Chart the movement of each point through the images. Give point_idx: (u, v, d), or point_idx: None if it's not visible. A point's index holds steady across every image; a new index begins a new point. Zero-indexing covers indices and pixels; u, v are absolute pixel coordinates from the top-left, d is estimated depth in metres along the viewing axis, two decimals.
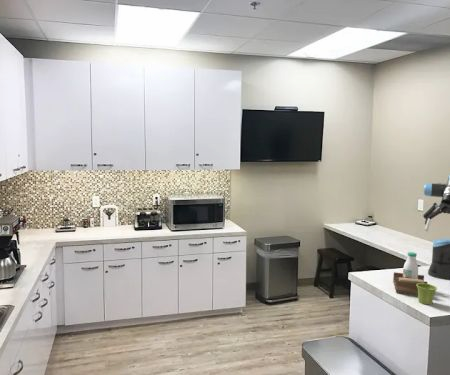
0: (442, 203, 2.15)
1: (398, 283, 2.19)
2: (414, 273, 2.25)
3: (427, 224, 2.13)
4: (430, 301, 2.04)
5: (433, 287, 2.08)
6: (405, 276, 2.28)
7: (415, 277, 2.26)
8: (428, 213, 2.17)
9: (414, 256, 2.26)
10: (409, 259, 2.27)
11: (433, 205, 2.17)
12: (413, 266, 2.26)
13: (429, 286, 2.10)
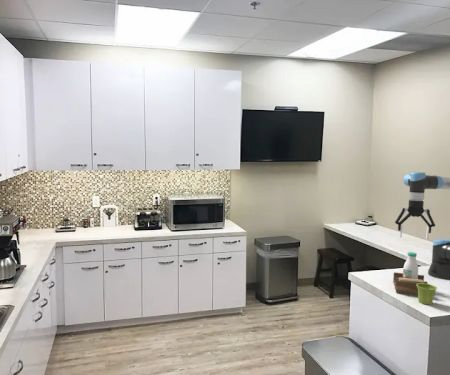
0: (410, 208, 2.25)
1: (398, 283, 2.19)
2: (414, 273, 2.25)
3: (401, 232, 2.27)
4: (430, 301, 2.04)
5: (433, 287, 2.08)
6: (405, 276, 2.28)
7: (415, 277, 2.26)
8: (399, 219, 2.27)
9: (414, 256, 2.26)
10: (409, 259, 2.27)
11: (402, 211, 2.26)
12: (413, 266, 2.26)
13: (429, 286, 2.10)
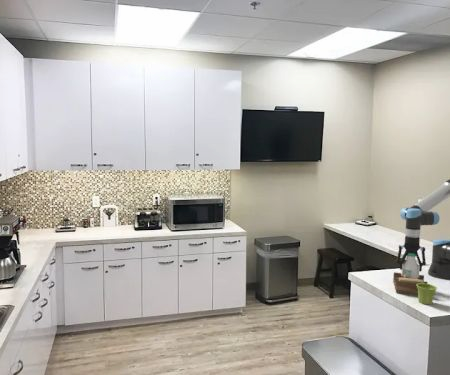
0: (406, 244, 2.28)
1: (398, 283, 2.19)
2: (414, 273, 2.25)
3: None
4: (430, 301, 2.04)
5: (433, 287, 2.08)
6: (405, 276, 2.28)
7: (414, 277, 2.26)
8: (399, 258, 2.29)
9: (413, 256, 2.26)
10: (409, 259, 2.27)
11: (399, 249, 2.29)
12: (413, 266, 2.26)
13: (429, 286, 2.10)
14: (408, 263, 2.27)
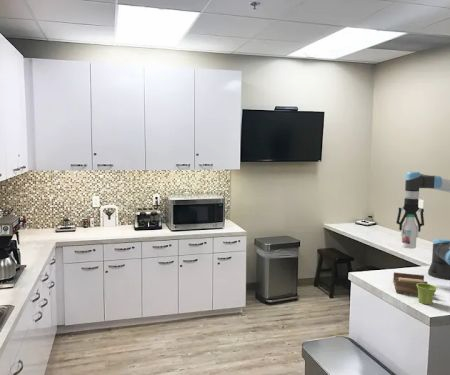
0: (405, 206, 2.39)
1: (398, 283, 2.19)
2: (413, 233, 2.36)
3: (402, 231, 2.40)
4: (430, 301, 2.04)
5: (433, 287, 2.08)
6: (404, 236, 2.39)
7: (413, 236, 2.37)
8: (399, 219, 2.40)
9: (412, 217, 2.37)
10: (408, 220, 2.38)
11: (399, 210, 2.40)
12: (412, 226, 2.36)
13: (429, 286, 2.10)
14: (407, 224, 2.38)
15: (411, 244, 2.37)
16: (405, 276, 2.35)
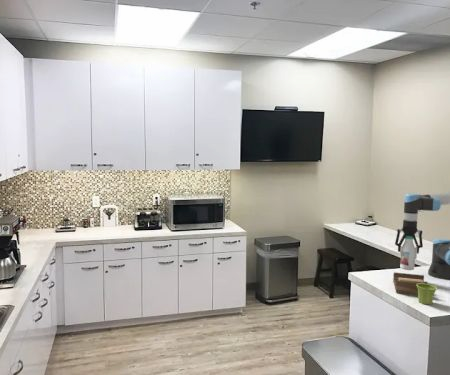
0: (404, 227, 2.40)
1: (398, 283, 2.19)
2: (411, 255, 2.38)
3: (401, 253, 2.41)
4: (430, 301, 2.04)
5: (433, 287, 2.08)
6: (403, 258, 2.40)
7: (412, 258, 2.38)
8: None
9: (411, 238, 2.38)
10: (407, 242, 2.39)
11: (398, 232, 2.41)
12: (410, 248, 2.38)
13: (429, 286, 2.10)
14: (406, 245, 2.39)
15: (409, 266, 2.38)
16: (405, 276, 2.35)
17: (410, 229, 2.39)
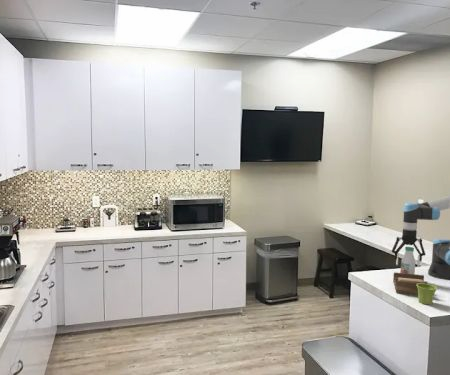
0: (404, 237, 2.40)
1: (398, 283, 2.19)
2: (411, 266, 2.38)
3: None
4: (430, 301, 2.04)
5: (433, 287, 2.08)
6: (403, 269, 2.41)
7: (412, 270, 2.38)
8: (395, 248, 2.42)
9: (411, 250, 2.39)
10: (407, 253, 2.40)
11: (397, 240, 2.41)
12: (410, 260, 2.38)
13: (429, 286, 2.10)
14: (406, 257, 2.40)
15: None
16: (405, 276, 2.35)
17: (410, 238, 2.39)
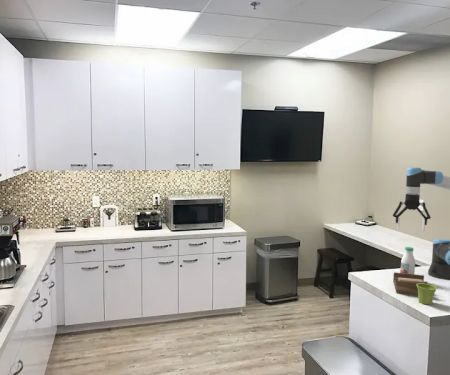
0: (407, 201, 2.38)
1: (398, 283, 2.19)
2: (411, 266, 2.38)
3: None
4: (430, 301, 2.04)
5: (433, 287, 2.08)
6: (403, 269, 2.41)
7: (412, 270, 2.39)
8: None
9: (411, 250, 2.39)
10: (407, 253, 2.40)
11: (399, 204, 2.39)
12: (410, 260, 2.38)
13: (429, 286, 2.10)
14: (406, 257, 2.40)
15: None
16: (405, 276, 2.35)
17: (412, 203, 2.37)
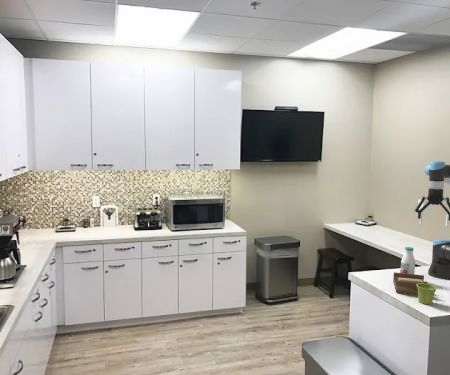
0: (430, 196, 2.31)
1: (398, 283, 2.19)
2: (411, 266, 2.38)
3: (421, 220, 2.33)
4: (430, 301, 2.04)
5: (433, 287, 2.08)
6: (403, 269, 2.41)
7: (412, 270, 2.39)
8: None
9: (411, 250, 2.39)
10: (407, 253, 2.40)
11: (422, 199, 2.33)
12: (410, 260, 2.38)
13: (429, 286, 2.10)
14: (406, 257, 2.40)
15: None
16: (405, 276, 2.35)
17: (436, 198, 2.30)
